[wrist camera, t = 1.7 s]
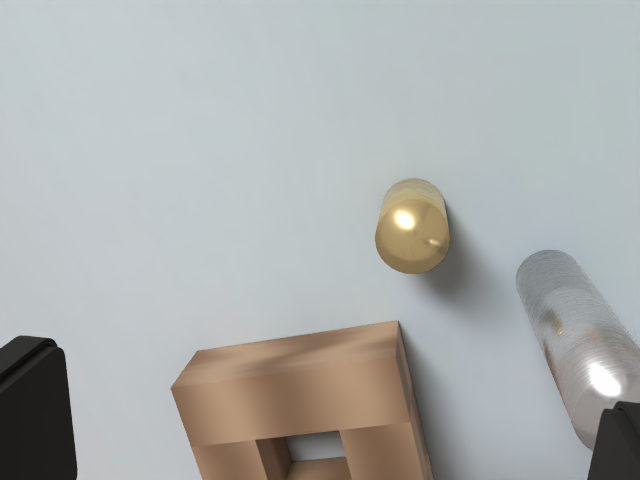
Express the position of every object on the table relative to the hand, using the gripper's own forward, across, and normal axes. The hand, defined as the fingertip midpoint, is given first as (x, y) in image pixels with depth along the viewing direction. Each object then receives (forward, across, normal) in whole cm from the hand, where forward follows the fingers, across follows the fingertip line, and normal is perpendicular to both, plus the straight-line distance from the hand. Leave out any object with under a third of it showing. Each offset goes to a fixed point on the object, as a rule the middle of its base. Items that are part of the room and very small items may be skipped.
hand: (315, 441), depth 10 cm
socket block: (+21, +3, +15) cm, 26 cm away
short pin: (+21, -2, +1) cm, 21 cm away
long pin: (+21, -9, +4) cm, 23 cm away
